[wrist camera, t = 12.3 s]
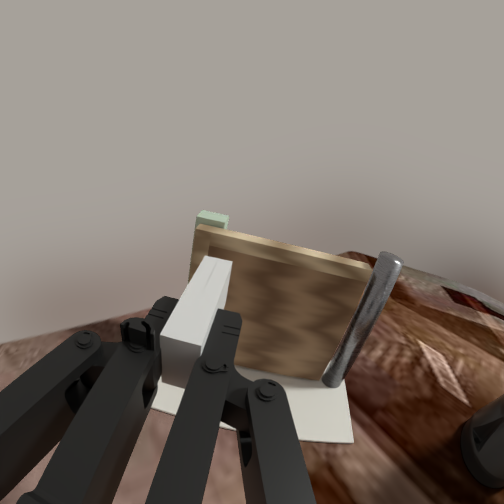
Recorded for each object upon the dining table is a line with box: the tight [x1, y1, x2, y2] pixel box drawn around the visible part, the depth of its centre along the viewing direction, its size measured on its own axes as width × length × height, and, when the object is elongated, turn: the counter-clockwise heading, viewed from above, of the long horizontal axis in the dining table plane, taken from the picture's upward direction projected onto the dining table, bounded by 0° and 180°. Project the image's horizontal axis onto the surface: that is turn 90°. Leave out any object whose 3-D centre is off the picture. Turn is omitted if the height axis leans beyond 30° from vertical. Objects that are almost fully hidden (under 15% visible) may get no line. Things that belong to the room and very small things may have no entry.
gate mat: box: [151, 362, 354, 444], centre depth 33 cm, size 24×14×1 cm, turn 84°
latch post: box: [188, 210, 229, 284], centre depth 34 cm, size 3×2×18 cm
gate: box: [189, 224, 372, 381], centre depth 32 cm, size 18×2×17 cm, turn 84°
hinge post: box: [322, 252, 404, 388], centre depth 31 cm, size 3×3×19 cm
